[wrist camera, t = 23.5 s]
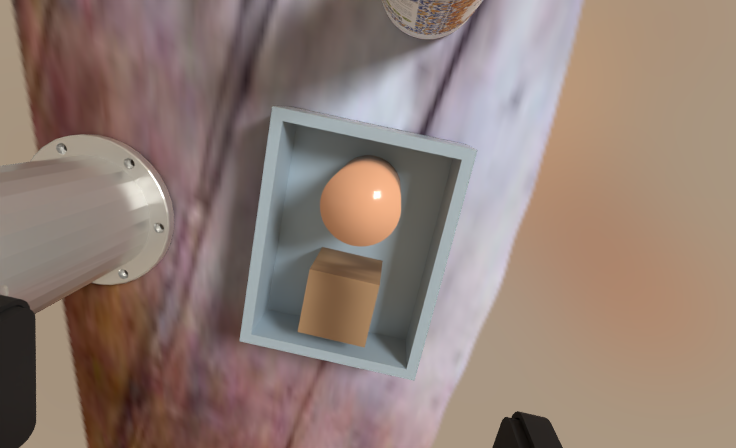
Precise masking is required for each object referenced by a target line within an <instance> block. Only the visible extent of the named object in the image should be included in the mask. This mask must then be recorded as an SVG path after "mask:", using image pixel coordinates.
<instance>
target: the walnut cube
mask: <svg viewBox="0 0 736 448" xmlns="http://www.w3.org/2000/svg"><path fill="white" fill-rule="evenodd" d="M382 262H383V261H381V260H377V259H373V258H369V257H364V256H360V255H356V254H351V253H347V252H343V251H338V250H334V249H330V248H325V247H322V248H321V250H320V252H319V254H318V255H317V257H316V259H315V260H314V262H313V264H312V266H311V267H310V270H309V275H308V280H307V285H306V290H305V296H304V301H303V306H302V311H301V316H300V322H299V327H298V332H300V333H305V334H309V335H313V336H317V337H322V338H326V339H330V340H334V341H339V342H343V343H347V344H352V345H356V346H360V347H364V348H365V344H366V340H367V336H368V332H369V327H370V323H371V319H372V315H373V311H374V307H375V303H376V299H377V295H378V290H379V286H380V279H381V271H382Z"/></svg>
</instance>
